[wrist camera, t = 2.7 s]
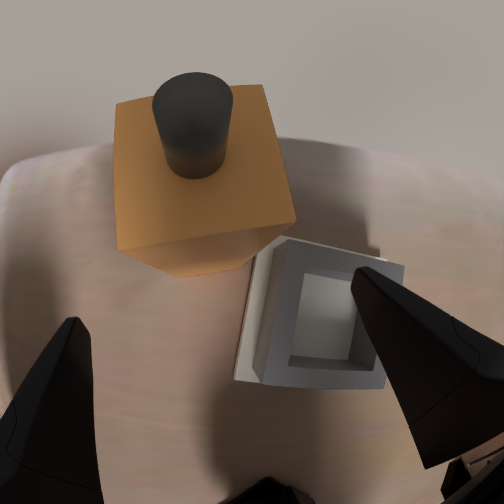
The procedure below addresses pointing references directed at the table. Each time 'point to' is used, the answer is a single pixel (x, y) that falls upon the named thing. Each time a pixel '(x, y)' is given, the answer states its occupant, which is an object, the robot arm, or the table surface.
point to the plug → (198, 176)
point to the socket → (308, 319)
